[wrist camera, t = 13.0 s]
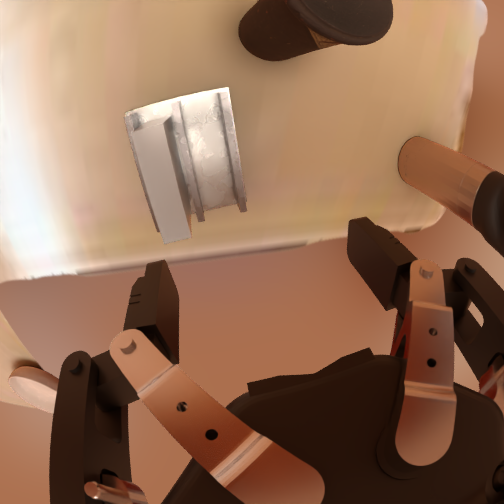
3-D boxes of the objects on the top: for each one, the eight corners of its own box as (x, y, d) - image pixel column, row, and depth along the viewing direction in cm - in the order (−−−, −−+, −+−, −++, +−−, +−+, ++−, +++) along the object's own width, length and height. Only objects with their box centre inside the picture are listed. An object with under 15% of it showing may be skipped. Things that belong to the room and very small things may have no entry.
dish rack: (227, 87, 30) (233, 86, 26) (245, 198, 39) (252, 213, 35) (127, 111, 29) (117, 114, 24) (157, 219, 38) (153, 237, 34)
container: (282, 75, 30) (374, 68, 14) (222, 42, 26) (260, -13, 10) (313, 30, 27) (416, 1, 10) (256, -4, 23) (323, -74, 7)
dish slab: (170, 115, 29) (162, 123, 21) (190, 201, 36) (191, 237, 28) (147, 121, 29) (131, 132, 21) (169, 206, 36) (164, 244, 28)
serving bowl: (1, 355, 45) (-5, 375, 40) (50, 354, 48) (43, 377, 42) (42, 395, 57) (38, 413, 51) (91, 397, 60) (88, 417, 54)
